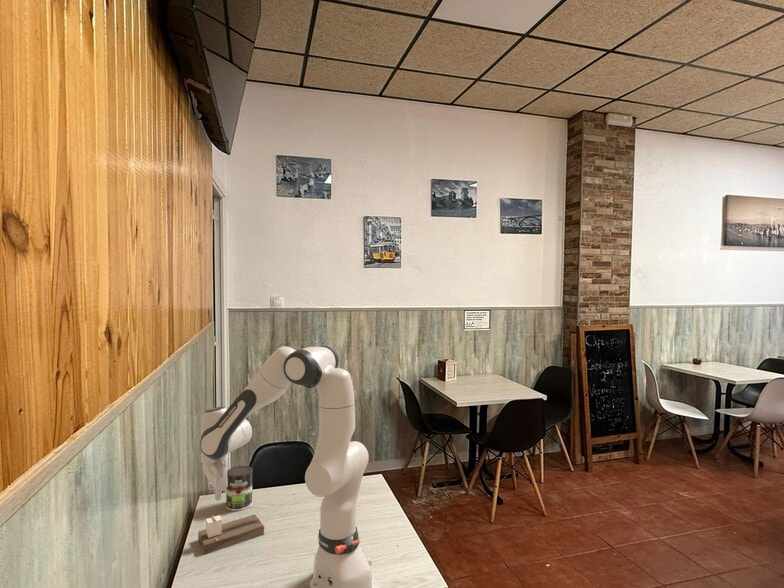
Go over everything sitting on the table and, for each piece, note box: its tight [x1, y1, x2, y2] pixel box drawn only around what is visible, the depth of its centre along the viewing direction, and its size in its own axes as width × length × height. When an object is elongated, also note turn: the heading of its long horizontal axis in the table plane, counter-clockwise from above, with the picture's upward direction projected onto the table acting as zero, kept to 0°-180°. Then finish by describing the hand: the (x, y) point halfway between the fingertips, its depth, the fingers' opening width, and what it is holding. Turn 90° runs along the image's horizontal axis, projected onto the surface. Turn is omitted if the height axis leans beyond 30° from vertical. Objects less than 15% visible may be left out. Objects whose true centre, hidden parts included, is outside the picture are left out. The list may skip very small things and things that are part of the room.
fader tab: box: [205, 514, 223, 538], centre depth 144 cm, size 4×4×5 cm
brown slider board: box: [197, 514, 265, 555], centre depth 147 cm, size 10×20×3 cm, turn 126°
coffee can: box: [225, 465, 254, 512], centre depth 170 cm, size 10×10×14 cm
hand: (214, 494), depth 144 cm, fingers open, 8 cm apart
